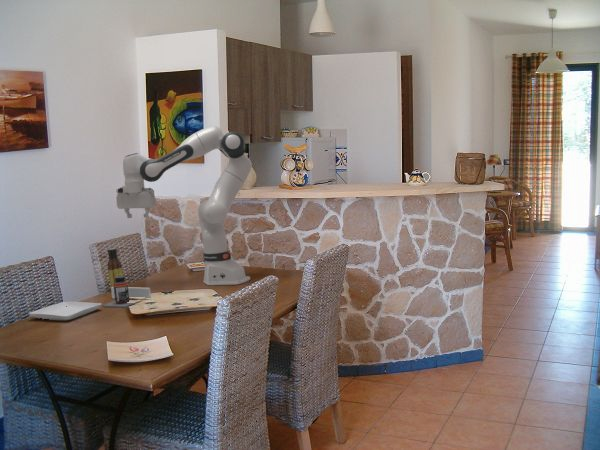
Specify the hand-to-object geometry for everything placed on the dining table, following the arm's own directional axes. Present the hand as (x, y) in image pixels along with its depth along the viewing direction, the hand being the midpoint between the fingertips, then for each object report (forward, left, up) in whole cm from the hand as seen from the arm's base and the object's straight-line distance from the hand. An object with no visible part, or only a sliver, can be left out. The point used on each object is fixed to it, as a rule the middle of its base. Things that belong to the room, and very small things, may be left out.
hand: (137, 217), depth 341 cm
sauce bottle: (+10, +8, -33) cm, 36 cm away
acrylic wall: (-9, +23, -33) cm, 41 cm away
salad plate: (+2, +52, -34) cm, 62 cm away
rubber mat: (-11, +32, -33) cm, 47 cm away
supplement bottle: (-11, +32, -33) cm, 47 cm away
